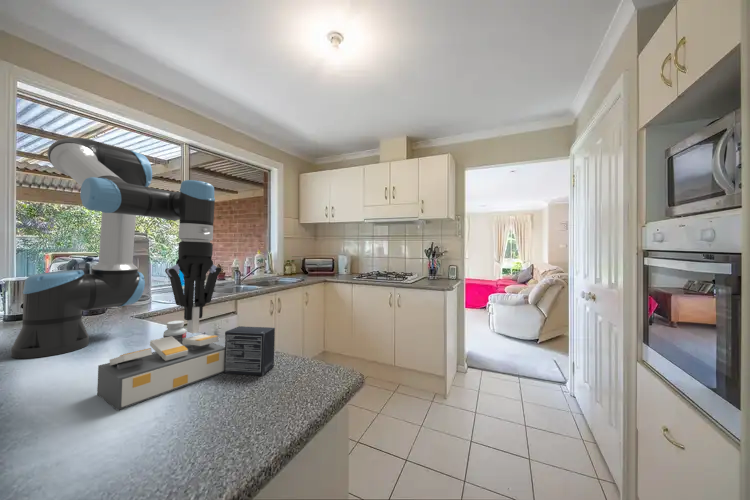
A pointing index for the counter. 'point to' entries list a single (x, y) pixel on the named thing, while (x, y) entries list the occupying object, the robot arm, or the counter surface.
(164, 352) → the switch
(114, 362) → the switch
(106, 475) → the counter surface
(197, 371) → the console
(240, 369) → the small box
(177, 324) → the pill bottle
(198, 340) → the switch
